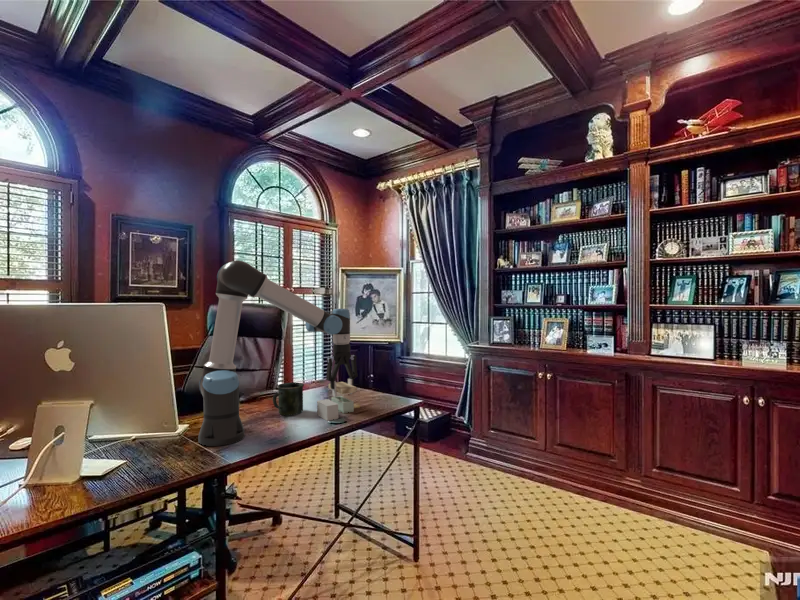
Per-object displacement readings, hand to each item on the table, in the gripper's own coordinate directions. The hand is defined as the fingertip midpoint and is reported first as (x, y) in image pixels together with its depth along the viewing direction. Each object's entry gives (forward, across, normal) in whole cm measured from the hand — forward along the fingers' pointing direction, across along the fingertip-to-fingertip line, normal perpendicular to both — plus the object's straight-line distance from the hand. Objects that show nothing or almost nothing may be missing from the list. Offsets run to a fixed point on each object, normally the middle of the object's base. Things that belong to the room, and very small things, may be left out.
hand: (342, 394), depth 184 cm
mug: (+7, -22, +8) cm, 24 cm away
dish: (+7, 0, 0) cm, 7 cm away
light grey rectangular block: (+6, -10, -6) cm, 14 cm away
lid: (-2, 0, 0) cm, 2 cm away
